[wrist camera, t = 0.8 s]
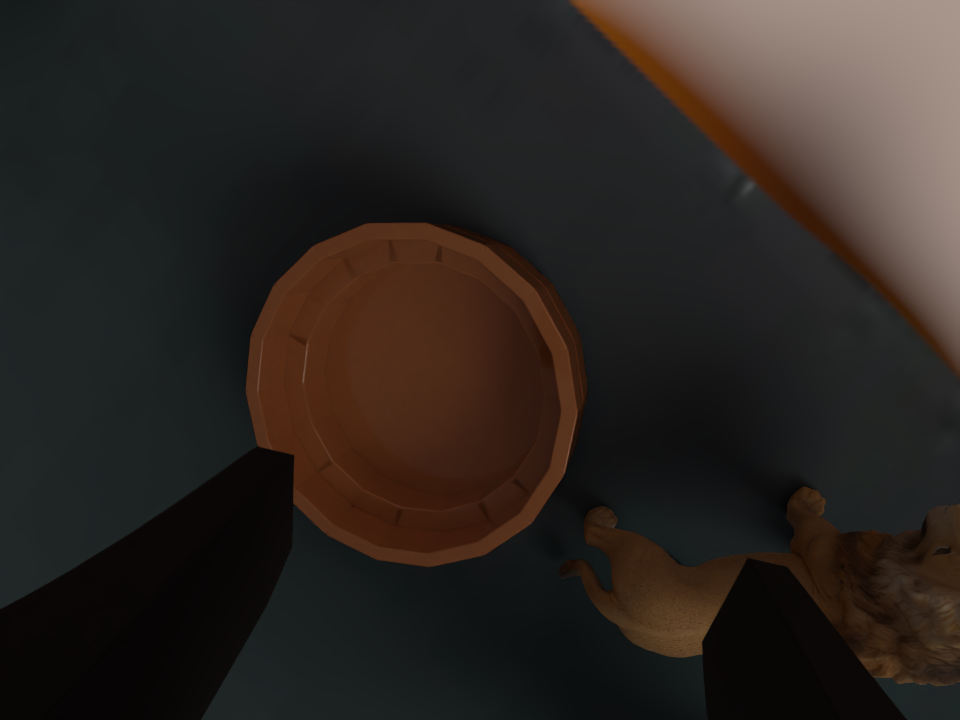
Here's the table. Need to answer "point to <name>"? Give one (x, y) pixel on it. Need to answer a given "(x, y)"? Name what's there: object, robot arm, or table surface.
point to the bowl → (417, 389)
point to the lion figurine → (823, 573)
